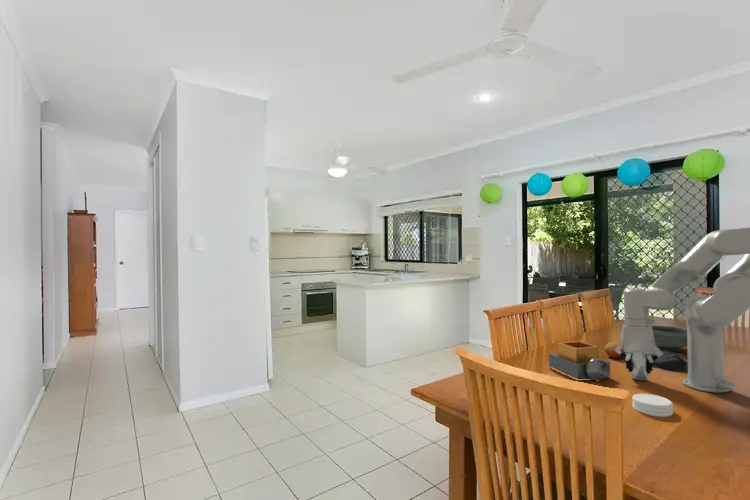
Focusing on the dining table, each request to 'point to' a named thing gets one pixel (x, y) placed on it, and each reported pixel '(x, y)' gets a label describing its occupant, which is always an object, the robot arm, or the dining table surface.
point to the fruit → (613, 350)
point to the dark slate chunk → (670, 362)
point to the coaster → (652, 405)
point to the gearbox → (580, 361)
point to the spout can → (639, 366)
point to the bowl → (670, 337)
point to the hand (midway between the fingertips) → (639, 371)
